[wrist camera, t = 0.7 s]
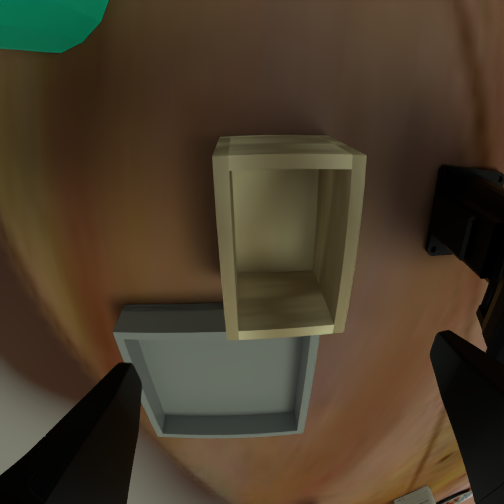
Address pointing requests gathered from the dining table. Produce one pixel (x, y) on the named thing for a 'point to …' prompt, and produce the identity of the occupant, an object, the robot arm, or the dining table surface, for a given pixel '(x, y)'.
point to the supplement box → (417, 497)
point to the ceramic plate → (456, 498)
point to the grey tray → (215, 373)
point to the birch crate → (287, 232)
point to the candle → (48, 23)
